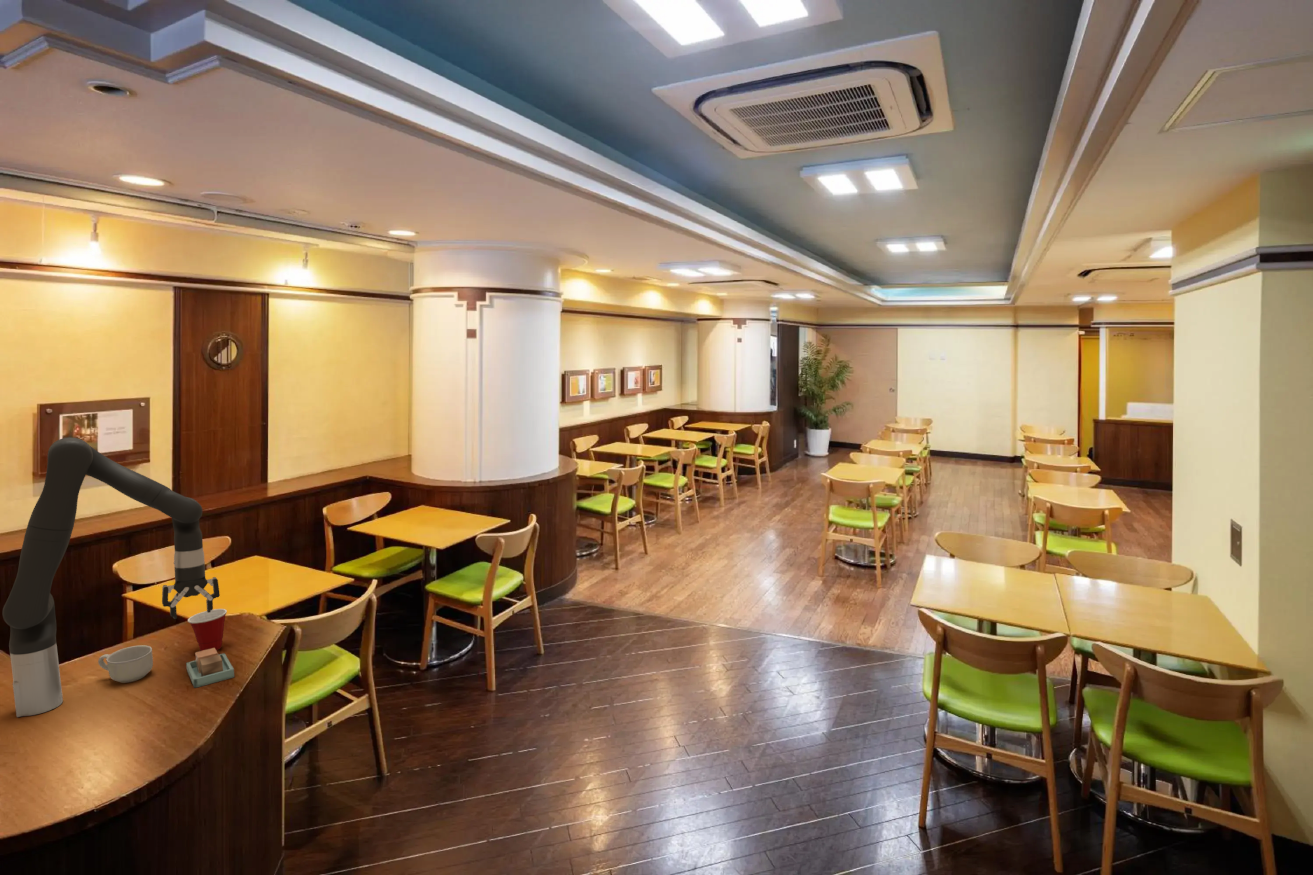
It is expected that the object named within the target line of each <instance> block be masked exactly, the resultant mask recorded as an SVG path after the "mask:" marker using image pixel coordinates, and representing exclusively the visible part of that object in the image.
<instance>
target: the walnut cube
mask: <svg viewBox="0 0 1313 875" xmlns="http://www.w3.org/2000/svg"><path fill="white" fill-rule="evenodd" d="M200 669H201V677H202V676H206V675H210V674H214V673H217V672H221V671H223V664H222V659H221V657H220V655H219V654H218V655H217V656H213V657H209V658H205V659H201V660H200Z"/></svg>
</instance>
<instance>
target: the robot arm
mask: <svg viewBox="0 0 1313 875" xmlns="http://www.w3.org/2000/svg"><path fill="white" fill-rule="evenodd" d="M46 464H47V465H46V472H45V479H44V483H43V488H42V491H41V493H40V496H39V498H38V499H37V501H36V502H35V506H34V507H33V510H32V512H31V514H30V516H29V519H28V523H27V526H26V530H25V532H24V537H23V540H22V541H23V542H22V547H21V551H20V557H19V561H18V563H19V564H18V569H17V574H16V576H15V577H16V578H15V580H14V583H13V586H12V588H11V591H10V593H9V596H8V598H7V599H6V602H5V603H4V605H3V608H2V611H1V612H2V618H3V621H4V622H5V623H6V624H7V625H8V626H9V627H10V628H9V629H10V630H9V631H10V636H9V643H8V647H9V649H8V650H9V656H10V663H11V664H10V665H11V671H12V672H11V673H12V674H11V675H12V680H13V681H12V689H13V697H14V706H15V714H16V718H20V717H27V716H35V715H40V714H42V713H47V712H49V711H51V710H53V709H56V708H57V707H59V706H61V705H62V704H63V701H64V700H63V690H62V681H61V680H62V679H61V673H60V665H59V664H60V662H59V655H58V646H57V619H56V617H57V616H56V605H55V600H54V597H53V594H51V589H52V585H53V580H54V577H55V575H56V573H57V570H58V568H59V567H60V564H61V562H62V560H63V558H64V556H65V553H66V552H67V548H68V546H69V544H70V541H71V538H72V534H73V531H74V530H73V529H74V527H75V523H76V522H75V521H76V517H77V516H76V515H77V510H78V502H79V501H78V498H79V494H80V491H81V488H82V485H83V483H84V481H85V480H84V479H85V477H86V476H89V477H91V478H93V479H96V480H98V481H100V482H101V483H103V484H106V485H107V486H109V487H111V488H112V489H114V490H116V491H117V492H119V493H121V494H123V495H124V496H127V497H128V498H130V499H132V500H134V501H136V502H138V503H141V505H144V506H147V507H149V508H152V509H154V510H157V511H159V512H161V513H162V514H164V515H166V516H168V517H170V518H171V523H172V527H173V532H174V533H173V535H174V536H173V544H174V546H173V547H174V554H173V565H174V581H175V582H174V584H172V585H167V584H163V585H162V586H161V588H162V590H161V591H162V594H161V604H162V606H163V607H164V608H165V607H167V608H169V615H170V617H171V618H173V619H174V620H175V619H177V618H178V614H177V605H178V603H179V602H180V601H181V600H182V598H183V597H184V598H185V599H186V598H189V597H196V596H199V595H200V594H201V595H202V596H203V597H204V598H205V599H206V600H205V601H206V611H207V612H208V613H209V612H211V610H214V604H213V603H214V602H213V601H214V600H215V599H216V598H219V597H221V596H220V595H221V594H220V588H219V587H220V586H219V579H218V578H217V576H216V577H215V576H213V577H212V578H209V579H207V578H206V565H205V564H206V563H205V562H206V561H205V552H204V546H203V545H204V544H203V543H204V542H203V533H202V530H201V527H200V519H201V518H202V515H203V507H202V505H201V504H200V503H199V502H198V501H197V500H196V499H194V498H192V497H189V496H188V497H187V496H184V495H182V494H180V493H178V492H176V491H173V490H172V489H171V488H170V487H168V486H166V485H165V484H162V483H160V482H158V481H156V480H154V479H152V478H150V477H148V476H146V475H144V474H141V473H139V472H137V471H135V470H133V469H130V468H128V467H126V466H123V465H121V464H120V463H118V462H116V461H114V460H112V459H111V458H109V457H107V456H105V455H104V454H103V453H101V452H99V451H98V450H97V449H95V448H94V447H93V446H91V445H90V444H89V443H88V442H86V441H85V440H82V439H81V438H78V437H63V438H60V439H57V440H55V441H54V442H53V443H52V444H51V445H50V447H49V448H48V451H47V463H46ZM208 584H209V585H210V586H212V590H213V593H211V594H210V593H209V592H208V591H207V590H206V589H205V588H206V586H207V585H208ZM172 590H175V591H176V593H175V595H174V596H173V598H172V600H170V601H169V594H170V593H171V592H172Z"/></svg>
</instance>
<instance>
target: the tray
mask: <svg viewBox="0 0 1313 875" xmlns="http://www.w3.org/2000/svg"><path fill="white" fill-rule="evenodd" d="M218 655H220V657H221V659H222V664H223V671H221V672H217V673H214V674H210V675H206V676H202V677H201V673H199V672H198V670H197V665H196V659H195V660H192V661H188V662H186V663H185V664H186V665H185V668H186V672H187V674H188V675H187V676H189V680H190V681H191V683H192V684H191V685H192V687H193V689H195V688H200V687H204V686H207V685H211V684H215V683H218V682H223V681H225V680H229V679H233V678H235V668H234V666H233V665H232V663H231V662H230V660H229V658H228V657H227V655H226V653H224V652H223V653H220V654H219V653H218Z"/></svg>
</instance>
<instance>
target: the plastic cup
mask: <svg viewBox="0 0 1313 875" xmlns="http://www.w3.org/2000/svg"><path fill="white" fill-rule="evenodd" d="M226 615H227V609H225V608H213V610H211V612H209V613H208V612H207V610H205V611H201V612H198V613H195V614H194V615H192V616H190V617H189V618H188V619H187V623H189V624H190V626H191V629H192V630H193V632H194V636H195V638H196V639H195V640H196V641H197V644H198V647H199V651H203V650H207V649H212V648H215V649H216V651H218V650H220V649H221V648H222V646H223V638H224V629H225V621H226Z"/></svg>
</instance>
